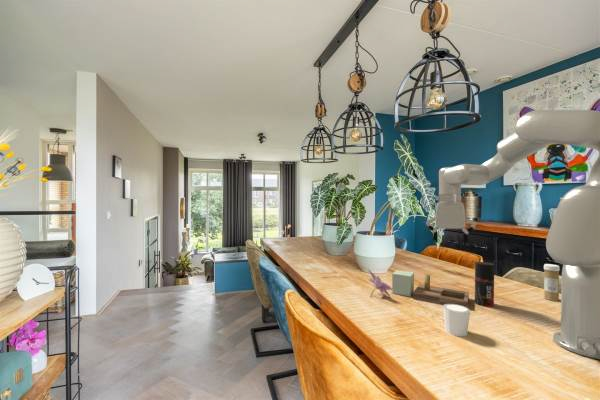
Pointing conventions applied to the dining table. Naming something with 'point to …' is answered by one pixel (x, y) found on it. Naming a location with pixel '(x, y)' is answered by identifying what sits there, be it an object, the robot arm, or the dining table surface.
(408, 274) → the green block
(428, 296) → the board
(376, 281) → the lily
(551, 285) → the sprinkles bottle
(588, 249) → the robot arm
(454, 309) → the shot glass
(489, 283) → the deodorant
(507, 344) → the dining table surface
